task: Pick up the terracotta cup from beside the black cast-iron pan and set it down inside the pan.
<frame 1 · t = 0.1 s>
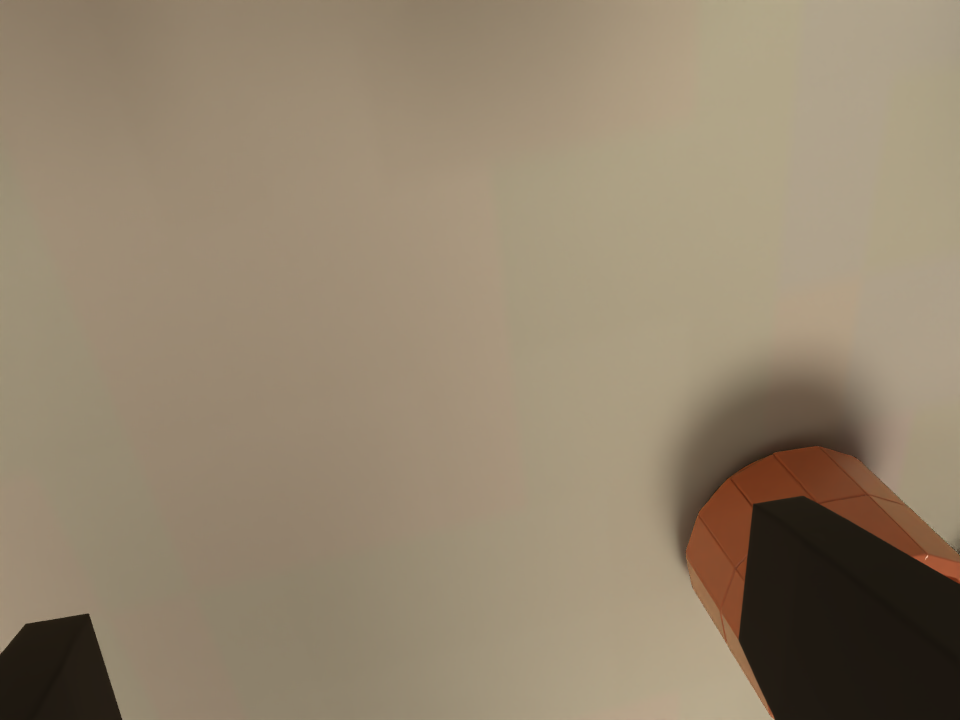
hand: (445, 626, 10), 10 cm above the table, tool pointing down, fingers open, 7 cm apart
terracotta cup: (774, 523, 24), on the table
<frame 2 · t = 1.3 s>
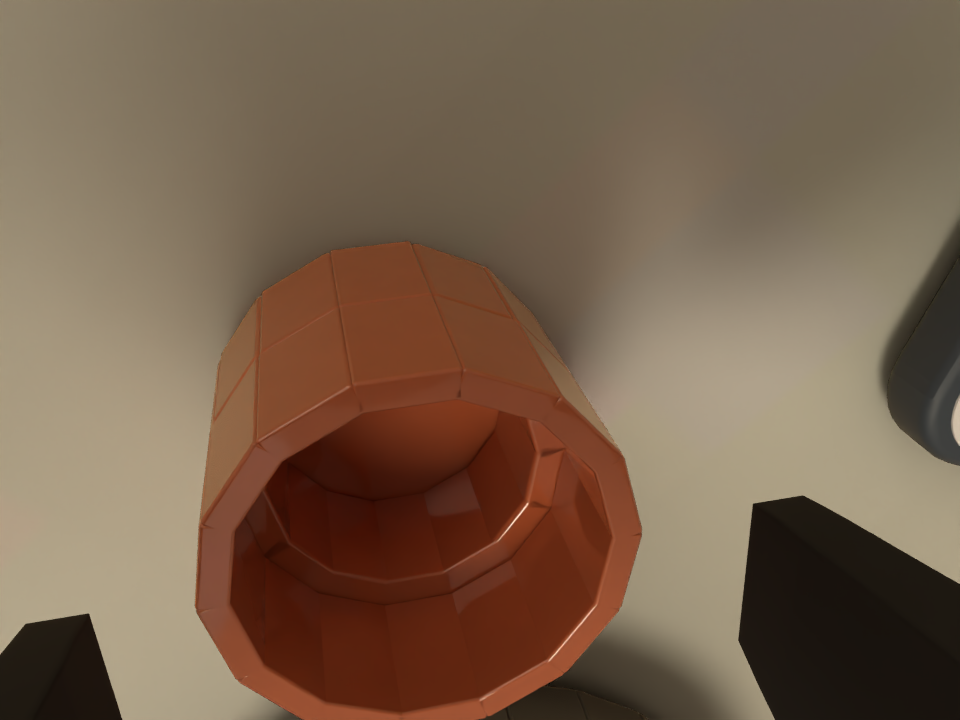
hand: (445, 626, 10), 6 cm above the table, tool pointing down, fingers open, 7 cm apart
terracotta cup: (384, 386, 15), on the table
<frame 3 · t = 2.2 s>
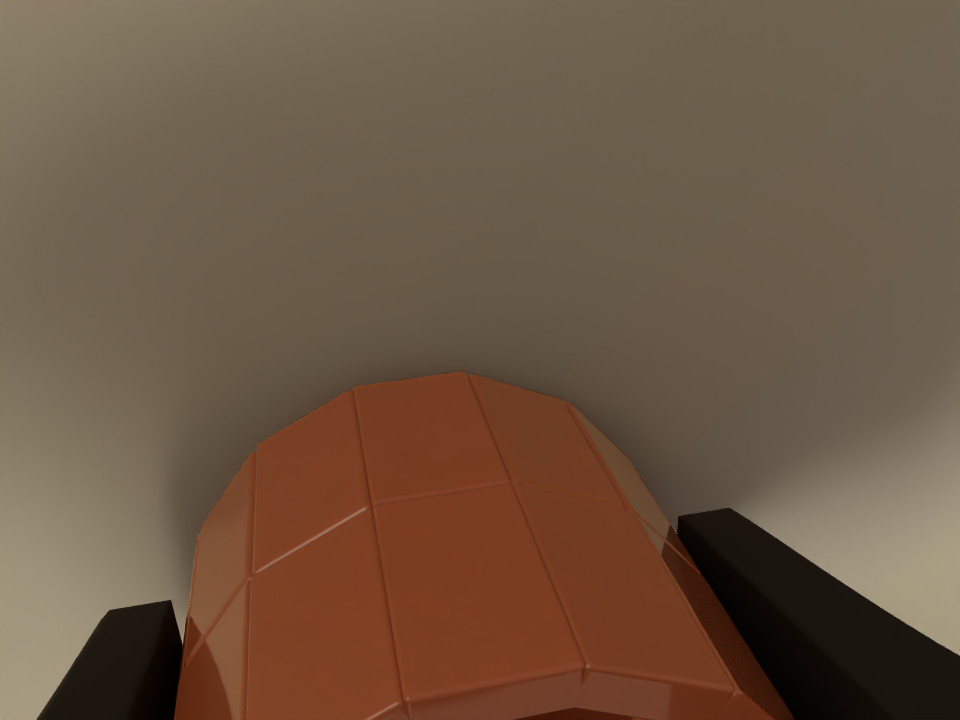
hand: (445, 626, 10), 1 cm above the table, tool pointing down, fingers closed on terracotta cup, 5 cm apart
terracotta cup: (423, 548, 11), on the table, touching gripper
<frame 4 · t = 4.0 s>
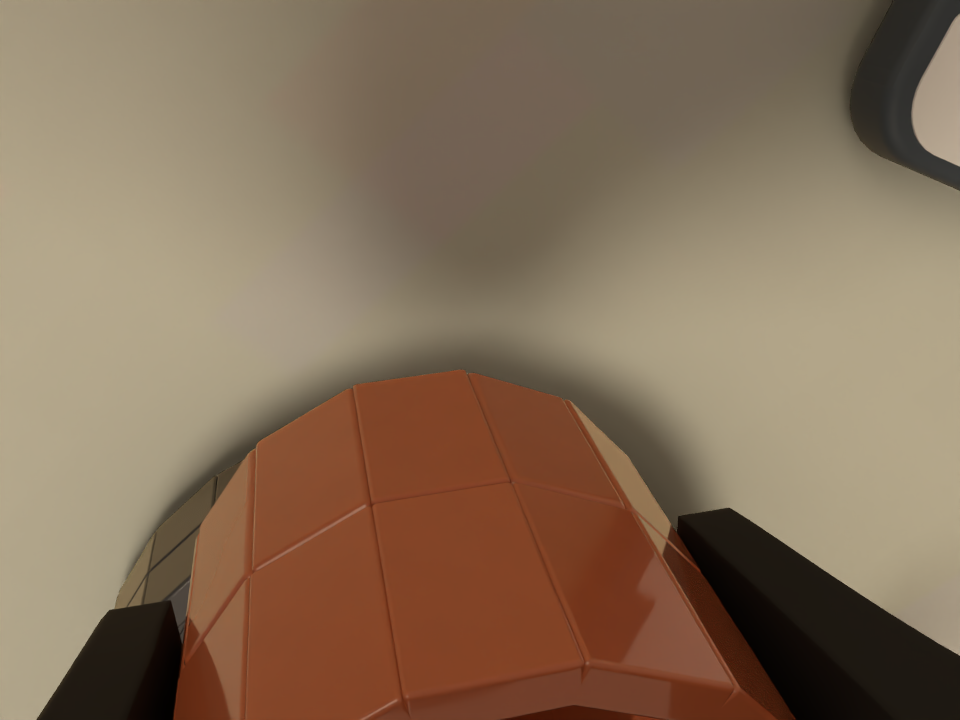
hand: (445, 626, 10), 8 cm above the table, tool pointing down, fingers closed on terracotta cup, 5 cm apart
pan: (408, 640, 21), on the table
terracotta cup: (423, 546, 11), point 7 cm above the table, touching gripper
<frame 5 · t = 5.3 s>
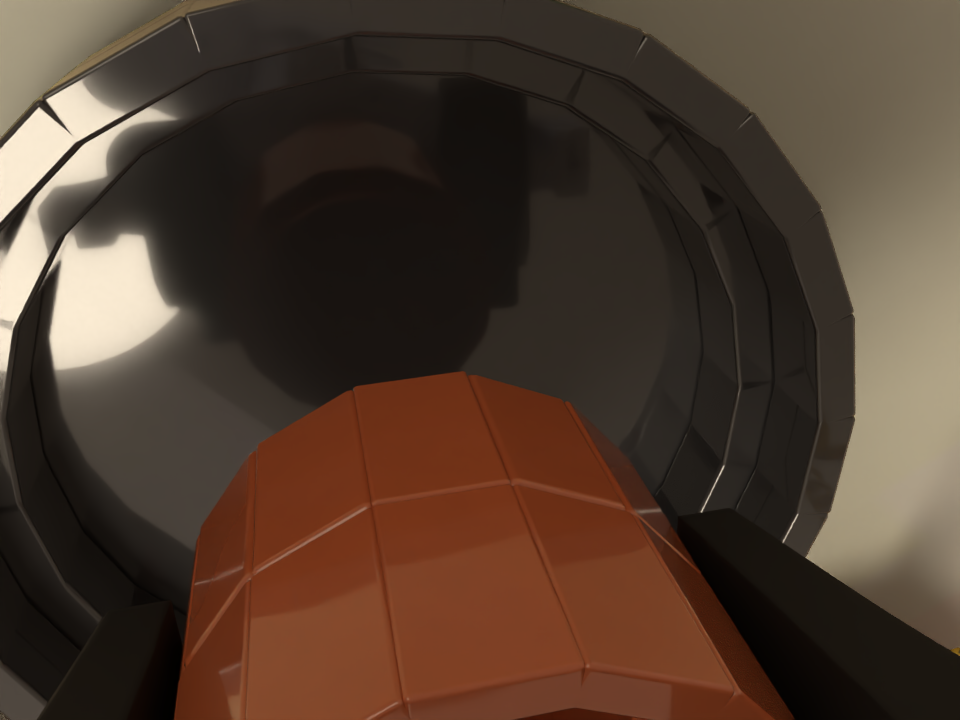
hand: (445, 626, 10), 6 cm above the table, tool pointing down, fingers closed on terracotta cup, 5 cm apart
pan: (387, 385, 15), on the table
terracotta cup: (423, 548, 11), point 4 cm above the table, touching gripper
when the fingers open (2 cm above the table, at t = 6.9 s): terracotta cup stays where it is, resting on pan.
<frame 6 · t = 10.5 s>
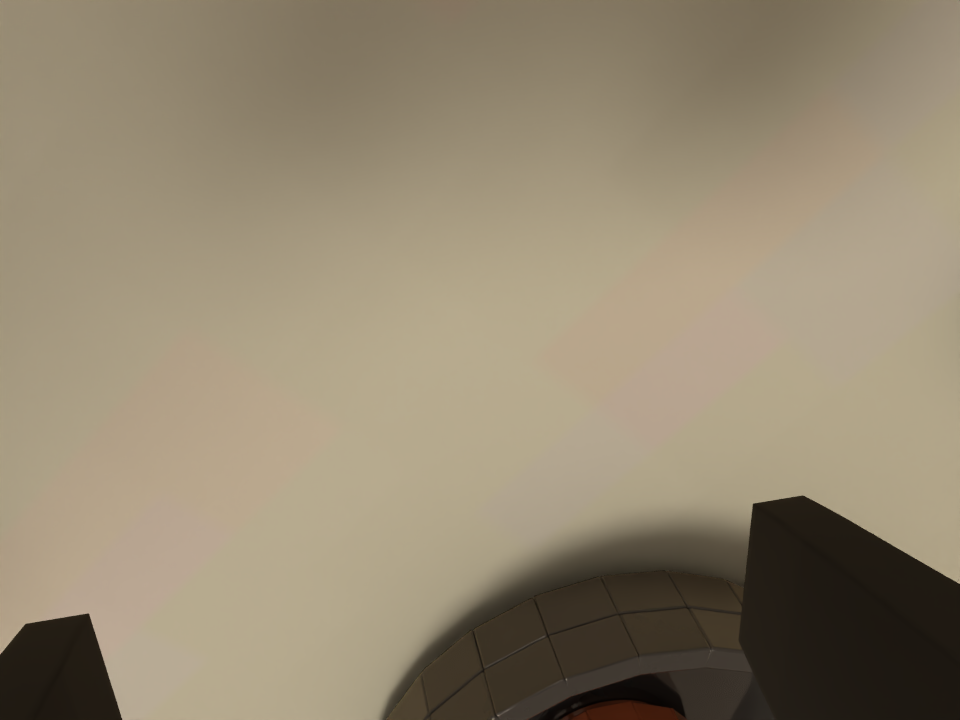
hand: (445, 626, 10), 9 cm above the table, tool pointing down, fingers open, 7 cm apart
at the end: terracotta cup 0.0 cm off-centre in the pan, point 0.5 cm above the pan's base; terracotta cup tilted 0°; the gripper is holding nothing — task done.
